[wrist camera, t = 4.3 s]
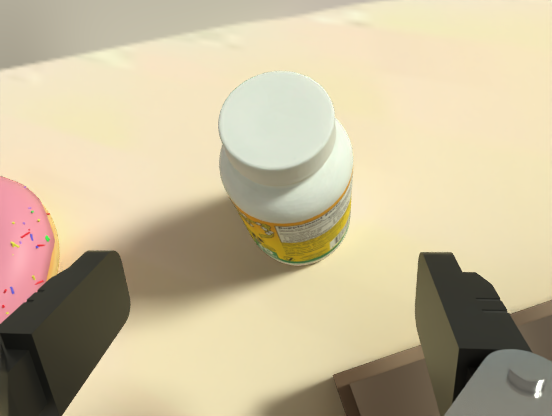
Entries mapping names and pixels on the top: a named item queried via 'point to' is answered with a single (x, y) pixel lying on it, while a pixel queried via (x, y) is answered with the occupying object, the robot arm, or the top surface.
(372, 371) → the display podium
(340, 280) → the top surface
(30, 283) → the doughnut
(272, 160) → the supplement bottle
